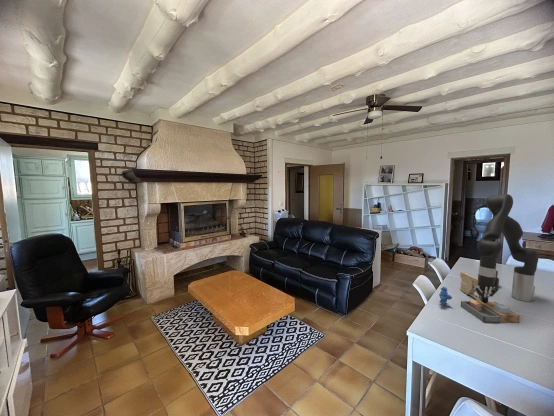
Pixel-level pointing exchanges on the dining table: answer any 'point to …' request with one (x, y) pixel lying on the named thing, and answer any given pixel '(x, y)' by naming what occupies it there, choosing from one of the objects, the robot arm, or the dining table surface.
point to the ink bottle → (496, 280)
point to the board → (504, 317)
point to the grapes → (444, 296)
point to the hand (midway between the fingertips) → (484, 302)
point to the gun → (469, 285)
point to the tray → (481, 313)
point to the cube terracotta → (475, 305)
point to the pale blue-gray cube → (501, 308)
